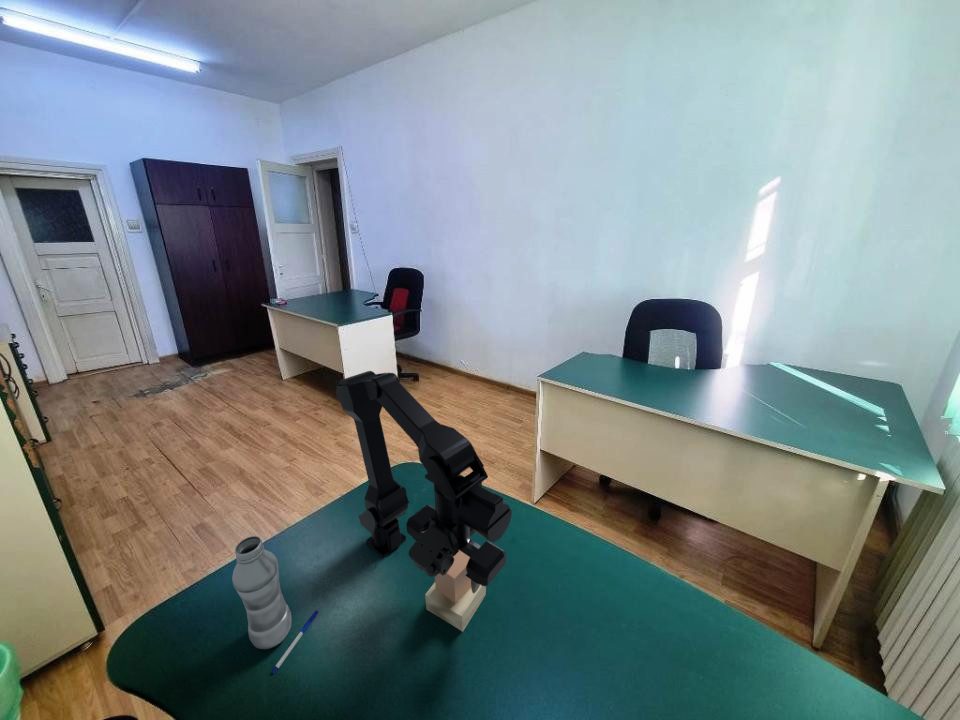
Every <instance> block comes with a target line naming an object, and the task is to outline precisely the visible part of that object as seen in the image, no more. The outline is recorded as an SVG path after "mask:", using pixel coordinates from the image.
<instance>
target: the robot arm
mask: <svg viewBox="0 0 960 720" xmlns="http://www.w3.org/2000/svg"><path fill="white" fill-rule="evenodd" d="M335 394H336V397H337V399H338V402H339V403H340V406H341V407H342V408H341V409H342V410H343V411H344V412H345V413H346V414H347V415H348V416H349V417H350V418H352V419H353V422H354V424H355V425H354V426H355V429H356V432H357V438H358V441H359V446H360V450H361V454H362V458H363V463H364V467H365V471H366V475H367V481H368V487H367V490H366V493H365V496H364V504H365V505H364V506H365V511H364V512H363V513H361V514H359V515H358V519H359V522H360V525H361V526H362V528H364V529H365V530H366V531H368V533H370V534H371V536H370V537H369V538H367V539H366V541H365V543H366V545H368V546H369V547H370V548H371V549H372V550H374V551H375V552H376V553H377V554H379V555H380V556H381V557H383V558H385V557H386V556H388V555H389V554H390V553H392V551H394V550H395V549H396V548H398V547H399V546H400V545H401V544H402V543H403V542H405V541H406V540H407V536H406V535H405V534H403V533H402V532H401V529H400V523H399V520H398V518H400V517H401V516H403V515H405V514H406V513H407V510H408V509H409V504H410V501H409V498H408V496H407V495H408V494H407V489H406V488H405V487H404V486H402V485H401V484H399V483H398V481H396V480H395V479H394V475H393V471H392V467H391V461H390V457H389V452H388V448H387V444H386V439H385V435H384V429H383V425H382V421H381V416H380V415H381V412H382V409H384V410H385V411H386V413H388V415H389V416H390V417H391V418H392V419H393V420H394V421H395V422H396V423H397V424H398V425H399V427H400V428H401V430H403V431H404V432H405V433H406V435H407V436H408V437H409V438H410V439H411V441H412V442H413V443H414V445H415V446H416V447H417V450H418V458H419V462H420V463H421V465H422V467H424V469H425V471H426V473H425V475H424V478H425V480H427V481H429V482H431V483H432V484H433V490H434V491H433V492H434V494H433V495H434V507H433V506H432V505H429V504H426V505H424V506H423V507H422V508H420V509H419V510H418V511H416V512H415V513H414V514H412V515H411V516H410V517H409V518H408V520H407V522H406V525H405V526H406V533H407V535H409V536H411V538H412V539H414V541H415V542H414V543H413V544H412V546H411V547H410V548H409V550H408V557H409V558H410V559H411V561H412V562H413V564H414V565H415V566H416V567H417V568H418V569H420V570H421V571H422V572H424V574H426V575H427V576H429V577H431V578H432V577H435V576H437V575H438V574H441V575H445V574H446V573H447V572H448V570H449V569H450V567H451V566H452V565H453V563H454V557H453V556H455V555H456V554H457V553H458V552H459V550H460V551H461V552H463V553H464V554H466V555H467V556H469V557H470V558H469V561H468V563H467V565H466V571H467V574H466V576H467V577H468V578H469V579H471V589H472V593H475V592H476V591H477V590H478V588H479V586H480V585H482V586H486V587H488V586H489V585H490V584H491V582H492V581H493V580H494V579H495V578H496V577H497V575H498V574H499V573H500V572H501V571H502V570H503V569H504V568H505V566H506V564H507V554H506V553H507V552H506V551H505V550H503V549H502V548H501V547H499V546H497V545H496V544H494V543H495V542H497V541H498V540H500V539H501V538H502V537H503V536H504V535H505V533H506V531H507V530H508V527H509V525H510V522H511V519H512V514H513V513H512V511H513V510H512V509H511V507H510V505H509V504H507V503H506V502H504V498H503V497H502V496H500V495H499V494H496V493H494V492H491V491H489V490H488V489H486V488H484V487H483V482H484V481H486V480H487V479H488V477H489V476H488V474H487V472H486V469H485V468H484V467H485V465H484V463H483V462H482V460H481V459H480V458H479V455H478V453H477V451H476V450H475V447H474V446H473V444H472V443H471V441H470V440H469V439H468V438H467V437H466V436H464V435H463V434H462V433H461V432H459V431H458V430H456V428H454V427H450V426H448V425H444V424H441V423H440V422H438V421H437V420H436V419H435V418H434V417H433V416H432V415H431V414H430V413H429V412H428V410H426V409H425V408H424V407H423V405H421V403H420V402H419V401H417V399H416V398H415V397H414V396H413V395H412V394H411V393H410V392H409V391H408V390H407V389H406V388H405V386H403V385H402V384H401V380H400V379H399V377H398V375H396V374H395V372H382V373H375V372H374V371H371V370H367V371H364V372H361V373H359V374H358V373H357V374H354V375H351V376H348V377H345V378H342V379H341V380H340V381H339V383H338V385H336V389H335ZM468 469H471V471H470V473H468V474H467V475H465V476H464V475H462V473H464V472H465V471H467V470H468ZM475 532H476V533H477V534H478V535H480V536H481V537H483V538H484V539H486V541H485V542H483V544H481V545H480V544H479V543H477V542H475V541H473V539H471V537H472V536H473V535H474V534H475ZM487 540H488V541H487Z"/></svg>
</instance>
